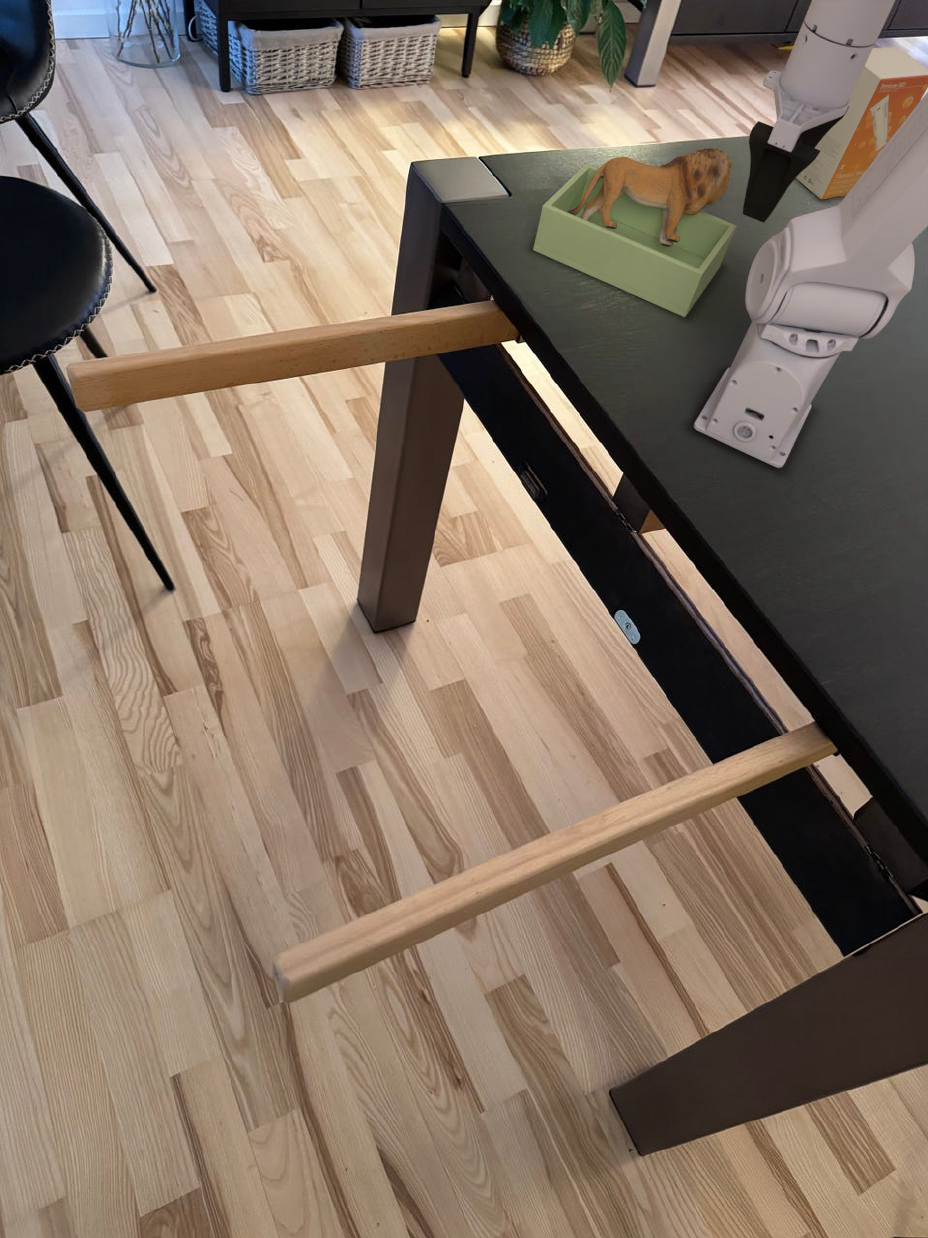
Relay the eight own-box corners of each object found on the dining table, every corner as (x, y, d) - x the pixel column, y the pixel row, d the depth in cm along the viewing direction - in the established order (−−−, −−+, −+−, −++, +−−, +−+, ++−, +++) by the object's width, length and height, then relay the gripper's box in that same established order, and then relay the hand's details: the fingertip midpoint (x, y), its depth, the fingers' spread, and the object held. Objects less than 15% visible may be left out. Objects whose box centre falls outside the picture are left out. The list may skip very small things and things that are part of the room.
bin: (684, 317, 84) (702, 274, 80) (532, 250, 87) (542, 205, 83) (719, 267, 89) (737, 225, 86) (575, 206, 92) (586, 162, 89)
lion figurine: (705, 257, 89) (730, 161, 87) (716, 248, 83) (743, 145, 81) (560, 226, 89) (582, 129, 87) (563, 214, 84) (586, 111, 82)
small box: (820, 201, 100) (880, 78, 90) (786, 171, 103) (840, 48, 93) (873, 193, 103) (937, 72, 92) (838, 163, 106) (896, 43, 95)
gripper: (815, -14, 73) (749, 150, 84) (764, 41, 65) (699, 215, 76) (897, 15, 72) (819, 178, 83) (855, 75, 64) (775, 247, 75)
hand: (766, 198), depth 80 cm, fingers open, 7 cm apart
